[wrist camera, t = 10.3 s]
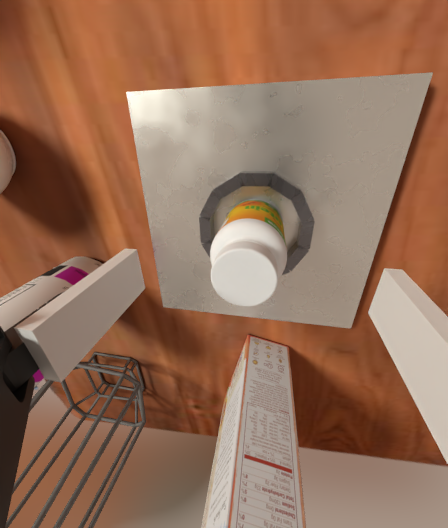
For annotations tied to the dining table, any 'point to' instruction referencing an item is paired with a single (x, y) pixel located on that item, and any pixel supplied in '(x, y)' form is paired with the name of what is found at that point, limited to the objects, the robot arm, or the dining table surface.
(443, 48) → the dining table surface
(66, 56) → the dining table surface
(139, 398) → the geometric lantern
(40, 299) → the supplement can
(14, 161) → the lidded jar
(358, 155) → the plate
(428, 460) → the dining table surface
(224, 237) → the supplement bottle
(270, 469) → the cracker box
